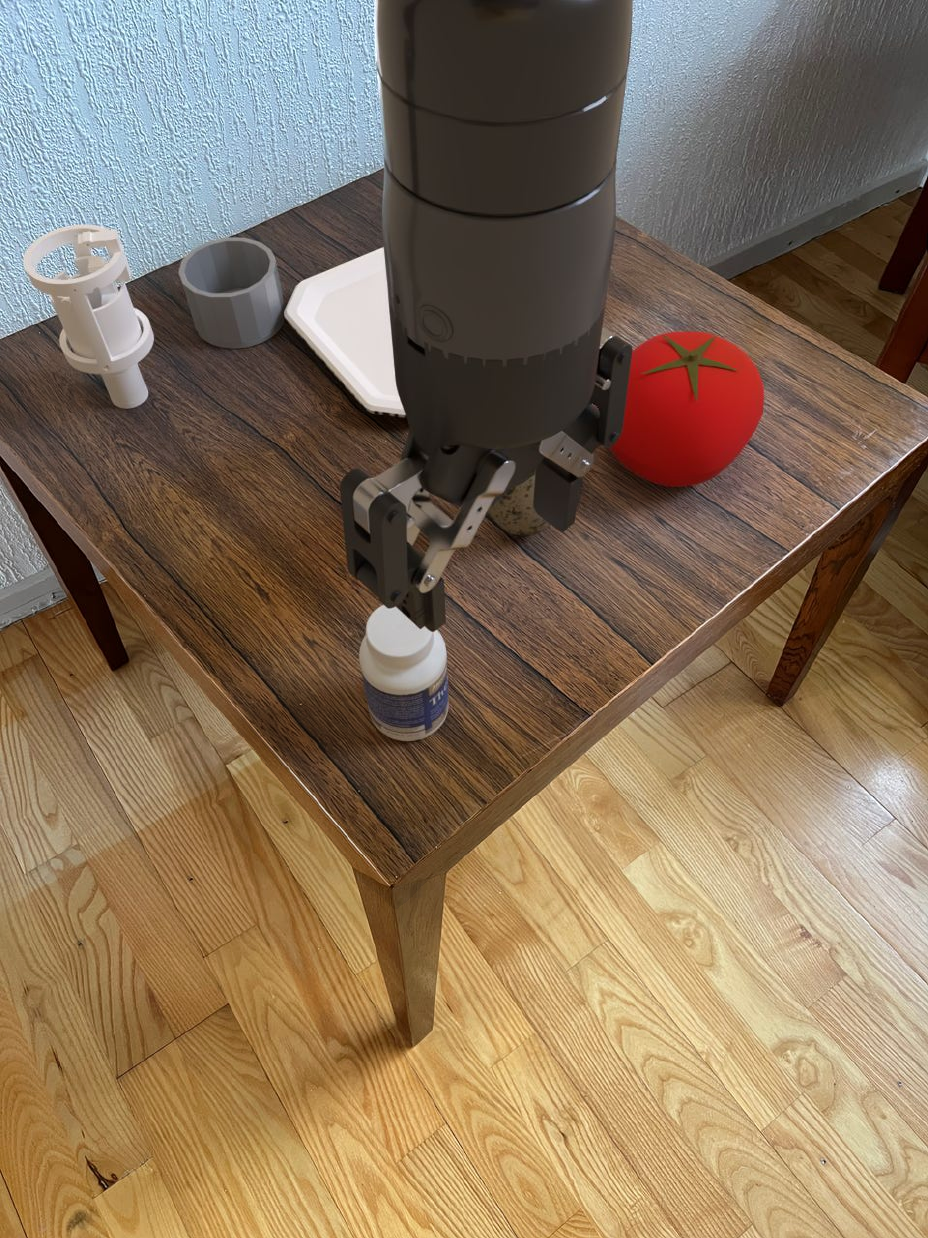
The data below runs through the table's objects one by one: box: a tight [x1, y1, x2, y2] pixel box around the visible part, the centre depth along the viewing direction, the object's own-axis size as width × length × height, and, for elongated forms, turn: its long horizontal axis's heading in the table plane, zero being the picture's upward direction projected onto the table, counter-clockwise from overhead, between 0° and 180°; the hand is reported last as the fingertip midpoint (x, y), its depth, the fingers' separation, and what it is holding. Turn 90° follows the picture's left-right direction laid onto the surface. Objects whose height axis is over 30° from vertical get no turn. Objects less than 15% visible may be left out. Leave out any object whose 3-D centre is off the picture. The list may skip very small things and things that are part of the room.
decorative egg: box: [487, 469, 551, 537], centre depth 69 cm, size 6×6×10 cm
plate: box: [284, 246, 407, 419], centre depth 85 cm, size 21×21×2 cm
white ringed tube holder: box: [22, 224, 155, 410], centre depth 75 cm, size 7×7×15 cm
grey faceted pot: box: [178, 237, 286, 350], centre depth 85 cm, size 8×8×6 cm
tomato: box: [608, 330, 765, 488], centre depth 72 cm, size 11×12×10 cm
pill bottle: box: [358, 604, 450, 742], centre depth 60 cm, size 5×5×10 cm
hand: (490, 566), depth 46 cm, fingers open, 8 cm apart
